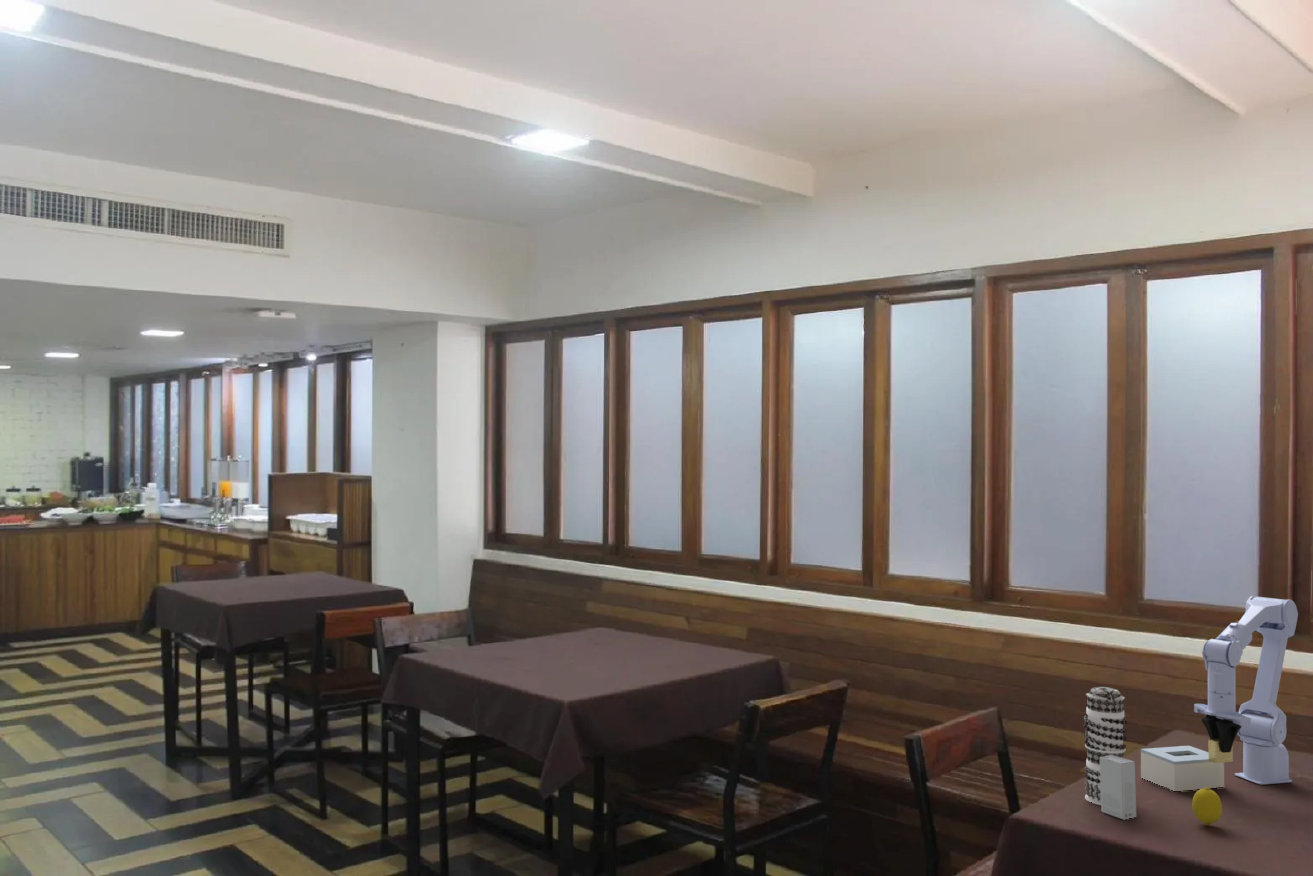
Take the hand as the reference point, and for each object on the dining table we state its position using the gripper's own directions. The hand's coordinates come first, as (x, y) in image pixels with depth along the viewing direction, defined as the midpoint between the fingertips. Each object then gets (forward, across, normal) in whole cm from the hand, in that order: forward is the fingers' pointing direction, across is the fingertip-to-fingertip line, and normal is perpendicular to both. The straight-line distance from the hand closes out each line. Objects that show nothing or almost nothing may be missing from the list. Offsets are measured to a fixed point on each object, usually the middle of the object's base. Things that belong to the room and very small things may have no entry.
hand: (1221, 750), depth 241 cm
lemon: (+10, +18, -21) cm, 29 cm away
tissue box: (+10, -8, -4) cm, 13 cm away
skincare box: (+10, +7, -35) cm, 37 cm away
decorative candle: (+10, -2, -31) cm, 32 cm away
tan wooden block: (+2, 0, 0) cm, 2 cm away
